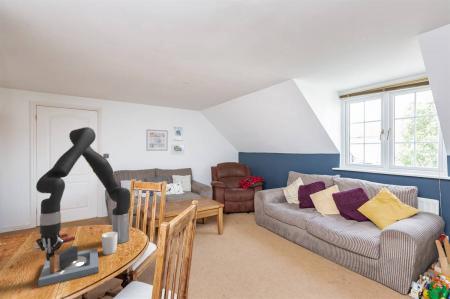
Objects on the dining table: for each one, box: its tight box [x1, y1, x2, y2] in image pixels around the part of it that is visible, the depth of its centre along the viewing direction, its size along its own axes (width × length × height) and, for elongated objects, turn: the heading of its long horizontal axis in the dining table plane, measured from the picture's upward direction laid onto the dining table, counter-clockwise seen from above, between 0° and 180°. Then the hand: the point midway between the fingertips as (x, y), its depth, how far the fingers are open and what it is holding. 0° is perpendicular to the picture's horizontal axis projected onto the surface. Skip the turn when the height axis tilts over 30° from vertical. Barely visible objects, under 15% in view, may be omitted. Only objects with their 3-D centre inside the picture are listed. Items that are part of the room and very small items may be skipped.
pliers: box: [31, 233, 76, 250], centre depth 138 cm, size 12×20×3 cm, turn 150°
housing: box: [37, 248, 100, 288], centre depth 110 cm, size 22×22×3 cm
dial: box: [50, 245, 86, 273], centre depth 108 cm, size 16×12×9 cm
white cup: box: [101, 231, 118, 256], centre depth 127 cm, size 8×8×10 cm
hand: (50, 260), depth 103 cm, fingers closed
